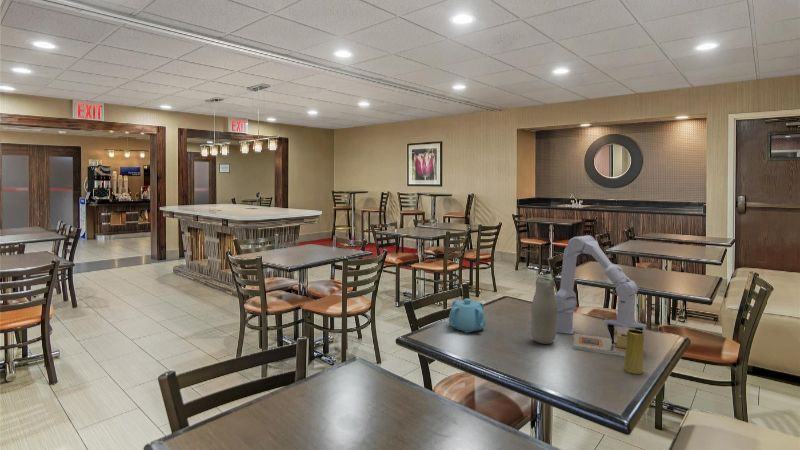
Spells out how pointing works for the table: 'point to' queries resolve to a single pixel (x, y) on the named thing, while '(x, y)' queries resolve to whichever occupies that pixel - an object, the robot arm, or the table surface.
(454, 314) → the decorative pot
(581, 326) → the table surface
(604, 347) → the panel
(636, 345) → the vase
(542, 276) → the glass bottle
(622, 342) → the brass nut
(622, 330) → the smoothie
